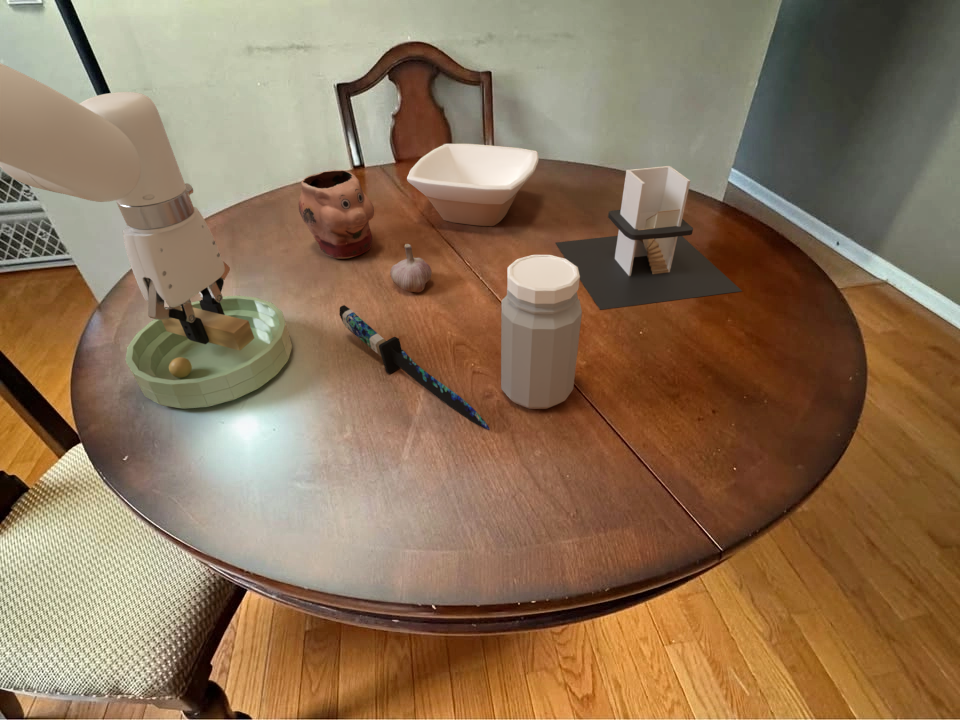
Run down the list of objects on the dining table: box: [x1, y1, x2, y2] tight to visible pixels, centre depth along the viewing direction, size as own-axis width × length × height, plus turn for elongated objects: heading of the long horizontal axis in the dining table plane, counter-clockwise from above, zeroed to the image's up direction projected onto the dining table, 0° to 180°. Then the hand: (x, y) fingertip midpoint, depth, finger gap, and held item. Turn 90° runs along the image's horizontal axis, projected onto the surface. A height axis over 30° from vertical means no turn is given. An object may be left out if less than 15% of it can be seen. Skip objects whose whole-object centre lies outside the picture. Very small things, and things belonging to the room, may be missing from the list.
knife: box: [339, 304, 491, 431], centre depth 75 cm, size 31×3×4 cm, turn 42°
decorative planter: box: [298, 169, 375, 260], centre depth 104 cm, size 20×12×14 cm, turn 48°
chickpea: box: [169, 357, 192, 378], centre depth 76 cm, size 3×3×3 cm
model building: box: [554, 165, 743, 310], centre depth 95 cm, size 25×24×16 cm
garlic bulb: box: [389, 243, 433, 293], centre depth 94 cm, size 8×7×8 cm
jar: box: [500, 254, 583, 410], centre depth 69 cm, size 10×10×18 cm
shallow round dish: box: [125, 295, 293, 409], centre depth 79 cm, size 21×21×5 cm
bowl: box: [406, 143, 539, 227], centre depth 116 cm, size 24×25×11 cm
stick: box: [162, 305, 254, 351], centre depth 77 cm, size 13×3×3 cm, turn 68°
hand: (208, 332), depth 77 cm, fingers closed on stick, 3 cm apart
